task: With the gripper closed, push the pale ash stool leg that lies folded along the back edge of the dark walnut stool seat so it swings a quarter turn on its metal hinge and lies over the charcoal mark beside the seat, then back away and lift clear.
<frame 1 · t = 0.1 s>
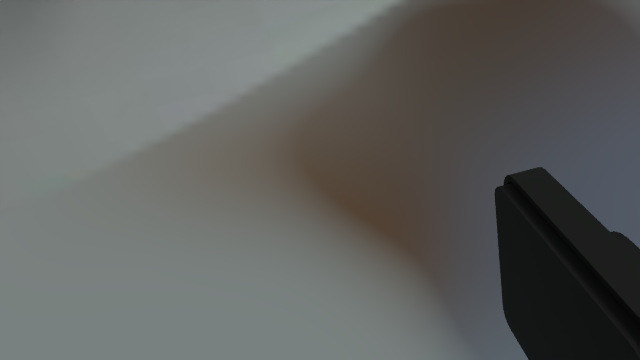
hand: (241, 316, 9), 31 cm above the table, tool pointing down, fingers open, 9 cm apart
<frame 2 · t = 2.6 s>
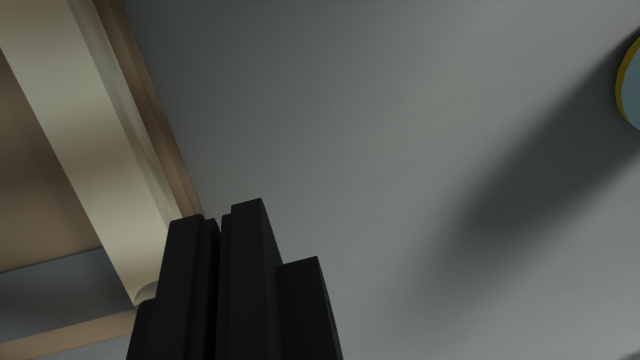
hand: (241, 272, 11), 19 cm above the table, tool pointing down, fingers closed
folding leg: (117, 171, 25), point 4 cm above the table, hinge at 0.0°
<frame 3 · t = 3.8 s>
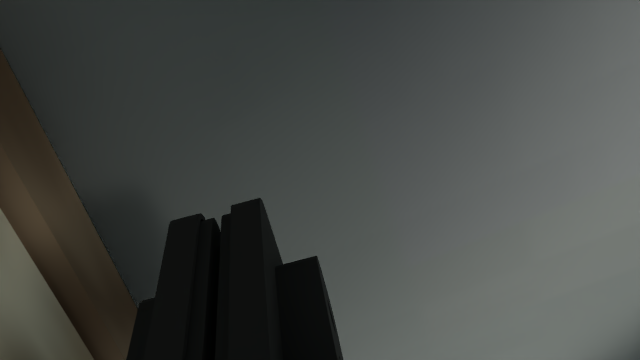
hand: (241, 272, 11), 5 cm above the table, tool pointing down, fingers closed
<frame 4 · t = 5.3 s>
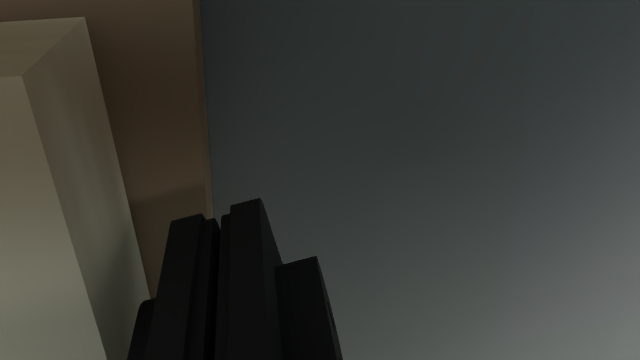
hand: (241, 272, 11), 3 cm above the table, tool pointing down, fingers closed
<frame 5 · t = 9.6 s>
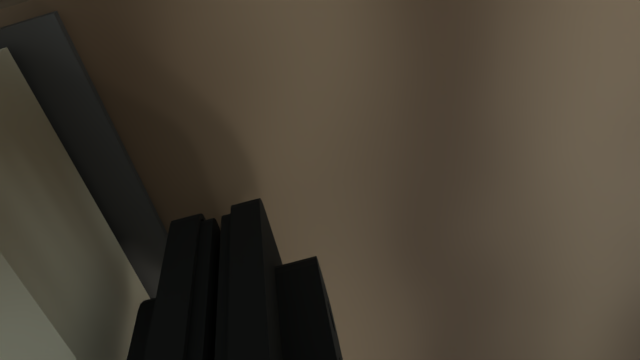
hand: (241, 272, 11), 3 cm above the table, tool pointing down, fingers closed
stool seat: (446, 253, 15), on the table
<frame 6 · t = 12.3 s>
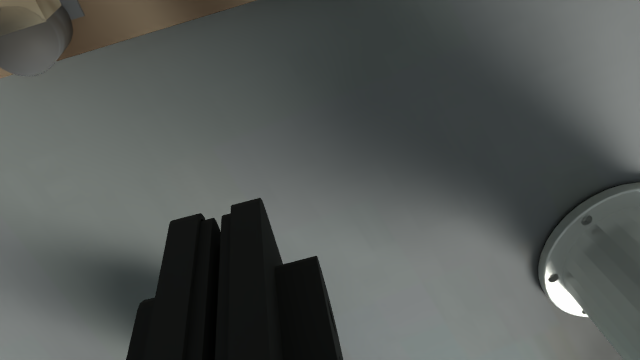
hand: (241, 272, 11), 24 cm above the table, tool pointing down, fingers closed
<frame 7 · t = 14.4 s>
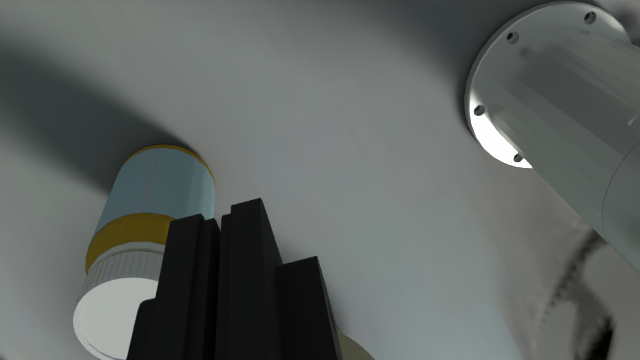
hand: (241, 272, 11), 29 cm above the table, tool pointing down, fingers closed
bottle: (168, 182, 42), on the table
planter bowl: (295, 350, 52), on the table
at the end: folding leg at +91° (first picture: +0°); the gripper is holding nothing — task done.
